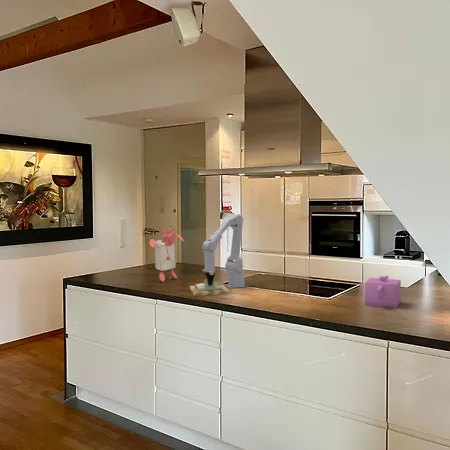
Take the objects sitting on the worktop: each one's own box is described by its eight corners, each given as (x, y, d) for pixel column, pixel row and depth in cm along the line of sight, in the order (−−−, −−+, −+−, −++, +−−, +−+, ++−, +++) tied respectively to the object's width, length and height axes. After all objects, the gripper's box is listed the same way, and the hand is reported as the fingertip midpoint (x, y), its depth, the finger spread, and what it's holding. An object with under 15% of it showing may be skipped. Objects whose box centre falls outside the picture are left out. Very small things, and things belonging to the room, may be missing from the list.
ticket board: (222, 286, 285) (222, 281, 285) (229, 293, 266) (229, 288, 266) (189, 288, 281) (189, 283, 281) (194, 295, 262) (194, 290, 262)
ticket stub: (220, 287, 274) (220, 276, 274) (222, 289, 270) (222, 278, 269) (197, 288, 272) (196, 278, 271) (198, 290, 267) (198, 279, 266)
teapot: (402, 299, 246) (402, 273, 244) (395, 310, 223) (395, 281, 222) (372, 296, 252) (372, 271, 251) (363, 307, 230) (363, 279, 229)
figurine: (148, 283, 300) (146, 228, 297) (178, 277, 319) (177, 226, 316) (163, 286, 290) (161, 230, 287) (193, 279, 308) (192, 227, 305)
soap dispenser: (163, 271, 342) (162, 241, 341) (148, 269, 350) (148, 240, 348) (176, 268, 355) (175, 239, 353) (162, 266, 363) (161, 238, 361)
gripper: (200, 260, 275) (201, 283, 276) (204, 264, 260) (205, 288, 261) (212, 259, 276) (213, 282, 277) (217, 263, 262) (217, 287, 263)
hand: (210, 285), depth 269 cm, fingers closed on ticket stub
